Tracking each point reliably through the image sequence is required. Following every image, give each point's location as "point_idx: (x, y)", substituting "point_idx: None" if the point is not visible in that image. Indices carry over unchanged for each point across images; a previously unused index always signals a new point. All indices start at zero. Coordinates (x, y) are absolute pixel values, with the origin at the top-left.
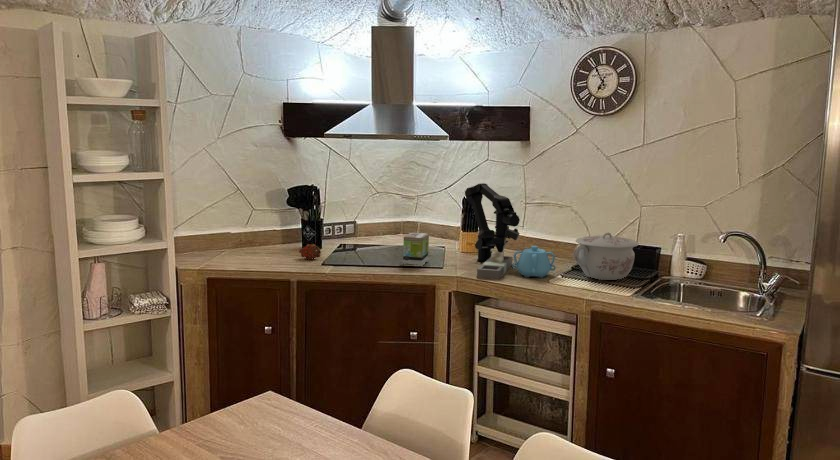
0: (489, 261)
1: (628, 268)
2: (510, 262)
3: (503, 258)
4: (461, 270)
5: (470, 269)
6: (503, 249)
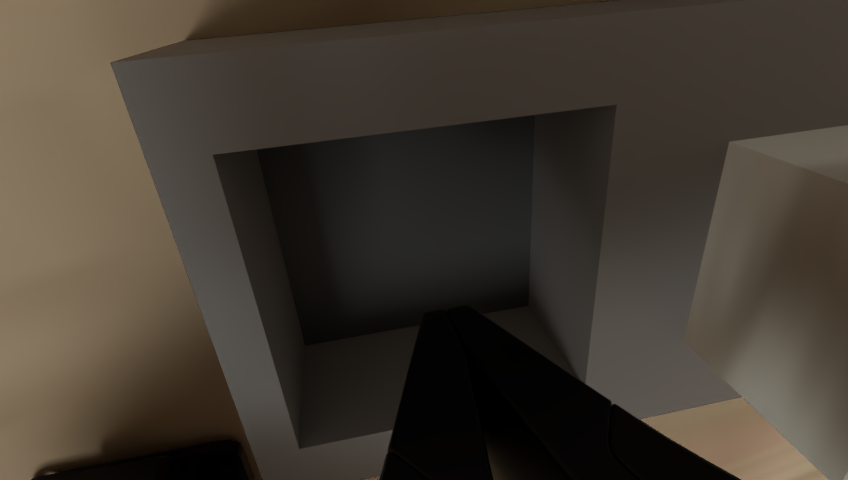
0: None
1: None
2: (440, 23)
3: (779, 155)
4: (780, 458)
5: (729, 422)
6: (456, 419)
